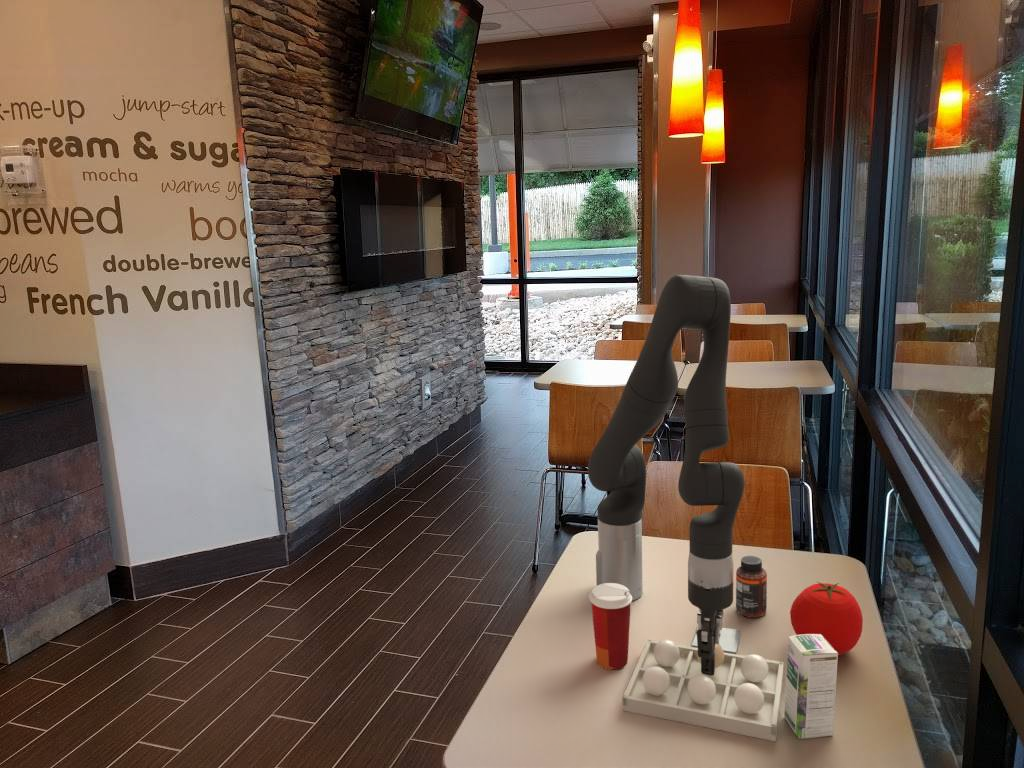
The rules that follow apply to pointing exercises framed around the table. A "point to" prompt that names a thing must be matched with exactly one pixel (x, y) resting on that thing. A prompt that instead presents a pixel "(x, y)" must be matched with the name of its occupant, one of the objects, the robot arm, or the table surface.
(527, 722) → the table surface
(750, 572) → the supplement bottle
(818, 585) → the tomato
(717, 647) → the brown egg
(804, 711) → the syrup box
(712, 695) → the white egg front middle
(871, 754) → the table surface
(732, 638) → the slate coaster
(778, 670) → the carton
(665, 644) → the white egg back left
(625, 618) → the paper cup
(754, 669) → the white egg back right
